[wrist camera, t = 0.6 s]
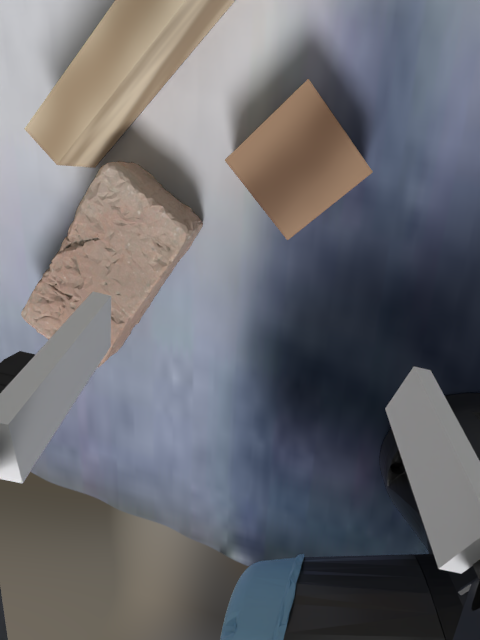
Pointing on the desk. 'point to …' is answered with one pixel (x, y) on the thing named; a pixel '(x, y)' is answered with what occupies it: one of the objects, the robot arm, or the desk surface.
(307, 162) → the block
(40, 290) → the brick
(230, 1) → the board
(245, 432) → the desk surface
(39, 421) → the robot arm
